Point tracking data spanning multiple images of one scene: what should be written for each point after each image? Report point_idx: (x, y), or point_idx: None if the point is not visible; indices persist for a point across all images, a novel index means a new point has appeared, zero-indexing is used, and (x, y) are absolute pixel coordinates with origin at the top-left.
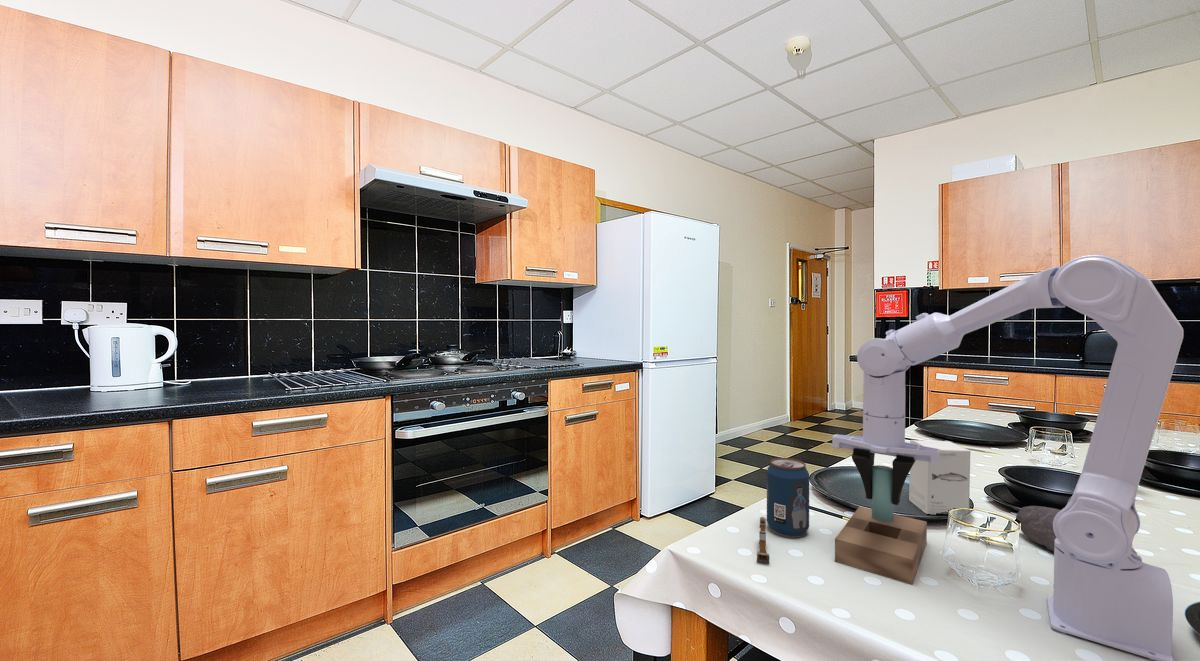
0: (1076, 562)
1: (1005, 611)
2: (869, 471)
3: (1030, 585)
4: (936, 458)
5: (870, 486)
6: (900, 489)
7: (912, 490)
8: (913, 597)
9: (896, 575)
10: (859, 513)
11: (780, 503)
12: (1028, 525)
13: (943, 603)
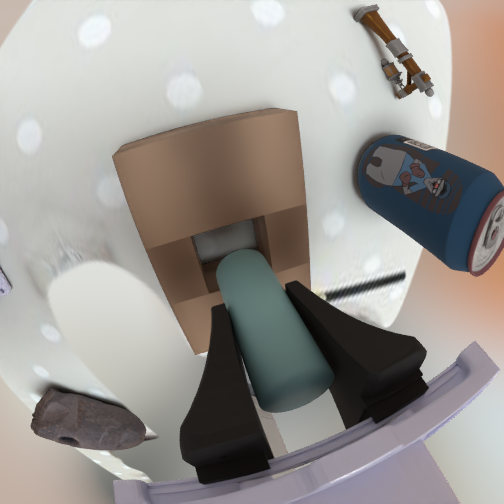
0: None
1: (9, 203)
2: (334, 348)
3: (43, 311)
4: (121, 501)
5: (304, 311)
6: (209, 347)
7: (267, 413)
8: (101, 98)
9: (150, 137)
10: None
11: (435, 149)
12: (121, 422)
13: (61, 130)
